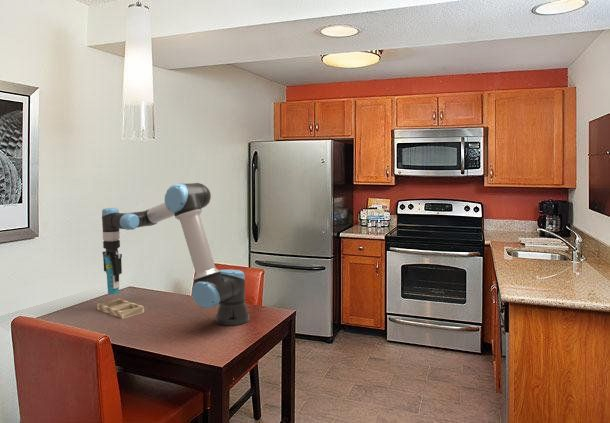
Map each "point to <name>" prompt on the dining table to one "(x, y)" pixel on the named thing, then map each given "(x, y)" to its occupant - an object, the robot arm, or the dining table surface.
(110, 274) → the tube
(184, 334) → the dining table surface
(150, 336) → the dining table surface
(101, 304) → the wooden compartment tray
